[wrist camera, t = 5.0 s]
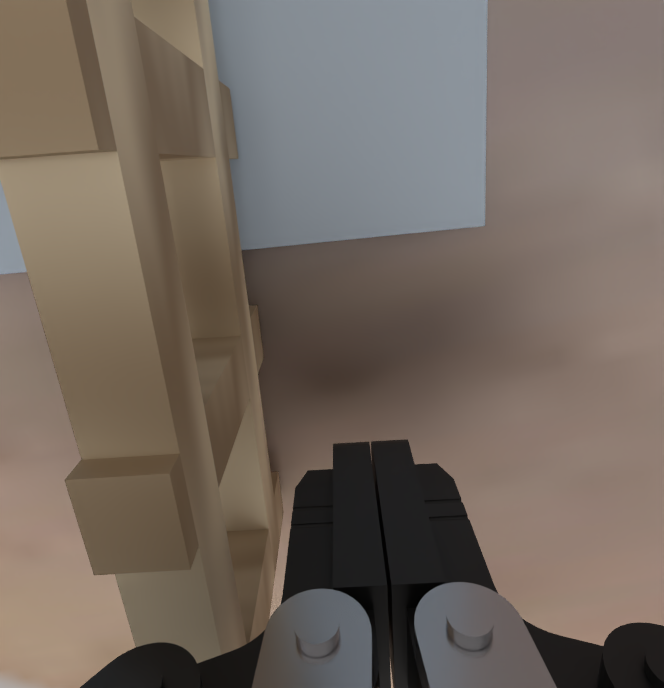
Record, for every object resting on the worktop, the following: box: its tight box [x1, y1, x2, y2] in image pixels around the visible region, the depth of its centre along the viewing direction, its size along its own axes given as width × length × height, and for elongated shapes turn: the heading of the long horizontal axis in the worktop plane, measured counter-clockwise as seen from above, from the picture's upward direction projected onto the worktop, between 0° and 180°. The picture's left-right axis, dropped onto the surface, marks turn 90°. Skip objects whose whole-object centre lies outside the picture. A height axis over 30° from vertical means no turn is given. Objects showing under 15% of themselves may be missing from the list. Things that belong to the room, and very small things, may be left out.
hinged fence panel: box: [0, 0, 283, 663], centre depth 8 cm, size 16×1×7 cm, turn 4°
